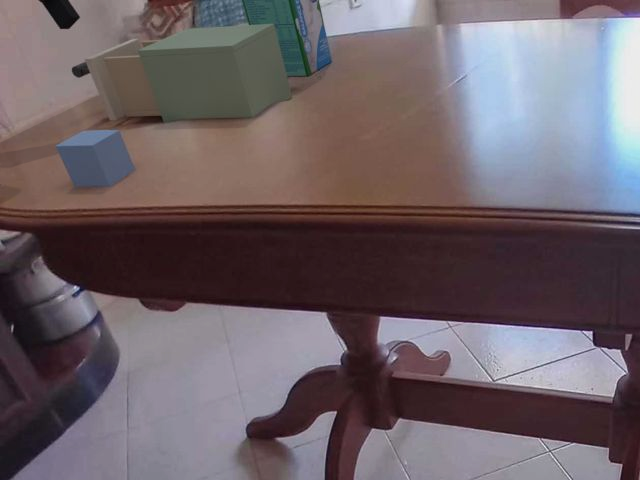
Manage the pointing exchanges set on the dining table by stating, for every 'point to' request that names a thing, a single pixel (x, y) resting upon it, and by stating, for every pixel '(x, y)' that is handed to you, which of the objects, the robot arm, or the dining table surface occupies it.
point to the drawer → (121, 80)
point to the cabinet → (216, 72)
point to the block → (96, 158)
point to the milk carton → (294, 32)
